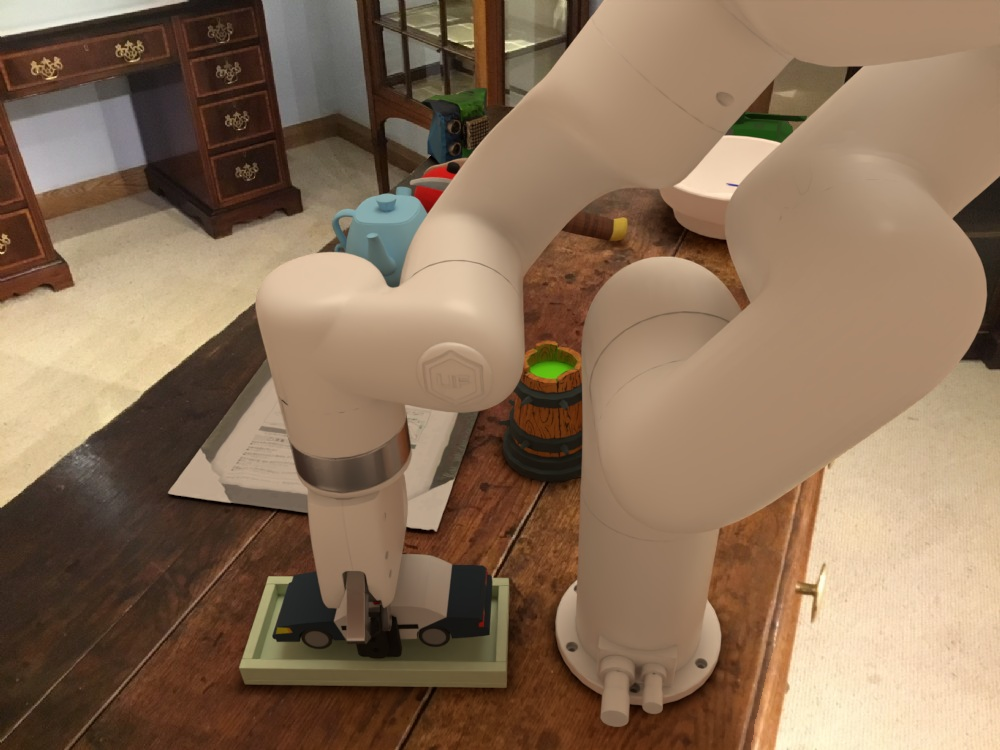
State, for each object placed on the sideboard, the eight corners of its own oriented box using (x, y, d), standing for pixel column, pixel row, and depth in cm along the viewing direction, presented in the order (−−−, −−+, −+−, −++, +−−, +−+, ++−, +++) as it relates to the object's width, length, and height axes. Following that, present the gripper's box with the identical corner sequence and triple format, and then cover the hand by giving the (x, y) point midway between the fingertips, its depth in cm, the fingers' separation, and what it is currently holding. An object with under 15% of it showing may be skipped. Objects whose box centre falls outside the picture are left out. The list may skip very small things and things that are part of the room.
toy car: (293, 597, 68) (279, 553, 65) (493, 593, 67) (488, 547, 64) (277, 650, 64) (261, 605, 61) (491, 646, 63) (485, 600, 60)
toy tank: (795, 187, 130) (806, 122, 124) (644, 172, 136) (648, 111, 130) (800, 149, 142) (811, 89, 137) (662, 137, 149) (667, 80, 143)
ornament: (481, 238, 124) (498, 176, 118) (432, 247, 118) (448, 181, 112) (445, 208, 128) (459, 146, 122) (396, 215, 123) (409, 151, 117)
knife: (618, 249, 118) (405, 204, 113) (619, 229, 120) (408, 183, 115) (632, 227, 114) (410, 179, 109) (632, 207, 115) (414, 158, 110)
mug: (478, 457, 83) (473, 360, 76) (538, 403, 90) (538, 310, 83) (592, 512, 77) (597, 413, 70) (647, 451, 83) (657, 354, 76)
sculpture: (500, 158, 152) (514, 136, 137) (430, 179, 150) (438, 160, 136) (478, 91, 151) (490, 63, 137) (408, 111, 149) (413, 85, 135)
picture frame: (164, 493, 80) (291, 321, 103) (165, 496, 80) (292, 324, 103) (437, 530, 75) (505, 340, 98) (437, 533, 75) (505, 343, 98)
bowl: (782, 273, 110) (793, 213, 105) (622, 234, 119) (626, 178, 114) (828, 206, 125) (840, 151, 120) (683, 176, 135) (688, 125, 130)
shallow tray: (506, 688, 63) (505, 671, 61) (244, 684, 64) (238, 667, 62) (509, 594, 70) (508, 577, 68) (273, 592, 71) (268, 575, 69)
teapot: (473, 282, 110) (467, 200, 104) (380, 317, 104) (368, 233, 97) (412, 240, 120) (404, 164, 114) (324, 270, 114) (310, 191, 108)
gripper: (320, 364, 62) (357, 537, 72) (258, 542, 48) (315, 723, 59) (423, 362, 61) (444, 537, 72) (390, 541, 48) (423, 723, 58)
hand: (386, 618), depth 65 cm, fingers closed on toy car, 5 cm apart
